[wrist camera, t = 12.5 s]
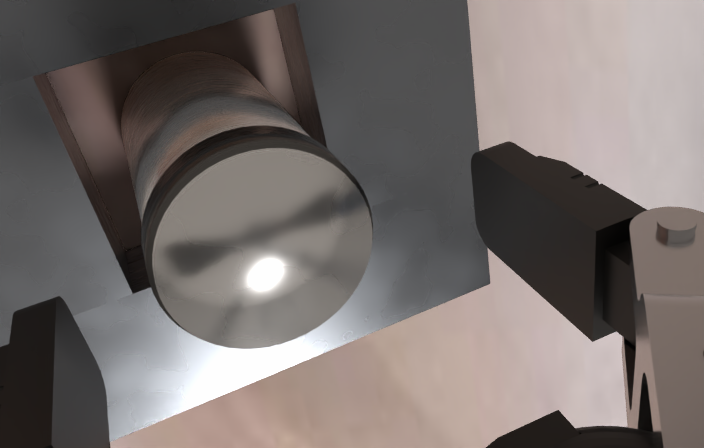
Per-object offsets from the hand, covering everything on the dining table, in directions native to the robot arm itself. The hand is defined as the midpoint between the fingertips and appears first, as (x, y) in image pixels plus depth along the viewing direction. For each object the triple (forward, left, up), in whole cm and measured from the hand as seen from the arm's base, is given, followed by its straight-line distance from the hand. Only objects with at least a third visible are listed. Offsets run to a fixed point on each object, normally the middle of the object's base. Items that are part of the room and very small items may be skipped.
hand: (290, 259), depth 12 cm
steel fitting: (0, 0, -9) cm, 9 cm away
